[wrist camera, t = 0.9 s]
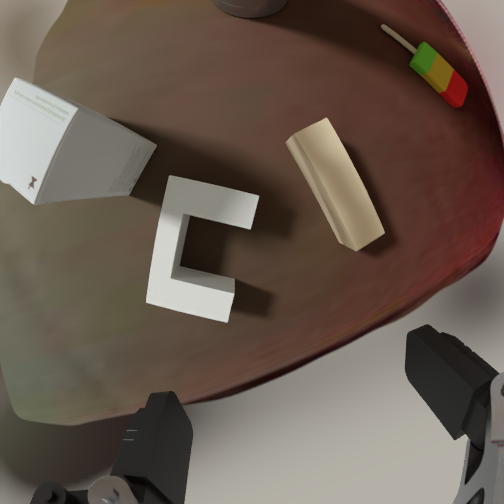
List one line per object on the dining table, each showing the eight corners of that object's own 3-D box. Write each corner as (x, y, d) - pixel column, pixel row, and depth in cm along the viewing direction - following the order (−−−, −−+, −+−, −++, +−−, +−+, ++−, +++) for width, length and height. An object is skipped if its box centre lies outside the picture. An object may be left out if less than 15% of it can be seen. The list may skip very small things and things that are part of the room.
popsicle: (454, 112, 27) (462, 110, 26) (371, 38, 25) (377, 32, 23) (462, 88, 27) (470, 85, 25) (385, 18, 24) (391, 12, 23)
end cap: (179, 177, 28) (169, 175, 23) (255, 195, 28) (259, 195, 24) (157, 287, 30) (146, 302, 25) (228, 304, 31) (227, 322, 26)
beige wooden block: (312, 128, 27) (327, 117, 22) (363, 226, 30) (385, 233, 25) (284, 143, 28) (294, 133, 23) (338, 241, 30) (356, 251, 25)
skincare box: (159, 146, 27) (86, 106, 12) (128, 200, 28) (36, 213, 13) (102, 114, 25) (15, 71, 10) (74, 165, 26) (-25, 158, 11)
